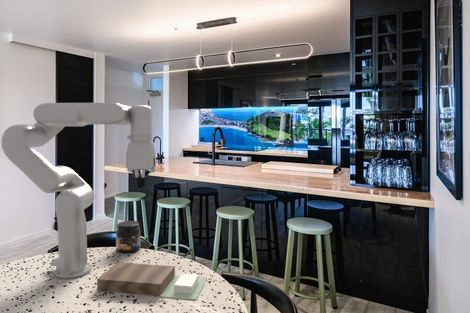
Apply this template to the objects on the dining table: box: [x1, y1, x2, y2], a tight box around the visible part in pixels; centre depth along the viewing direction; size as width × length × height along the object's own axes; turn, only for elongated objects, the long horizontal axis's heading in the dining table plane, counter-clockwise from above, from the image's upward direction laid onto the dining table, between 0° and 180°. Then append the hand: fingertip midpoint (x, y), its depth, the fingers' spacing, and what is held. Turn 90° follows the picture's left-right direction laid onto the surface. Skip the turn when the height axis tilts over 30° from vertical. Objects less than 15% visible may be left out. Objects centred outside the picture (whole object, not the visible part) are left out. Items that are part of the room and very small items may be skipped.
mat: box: [159, 275, 208, 301], centre depth 108 cm, size 12×15×1 cm
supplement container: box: [115, 220, 142, 254], centre depth 142 cm, size 10×10×12 cm
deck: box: [96, 261, 176, 297], centre depth 110 cm, size 22×14×4 cm, turn 82°
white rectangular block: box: [174, 272, 200, 294], centre depth 108 cm, size 6×9×2 cm, turn 172°
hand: (141, 187), depth 118 cm, fingers closed
